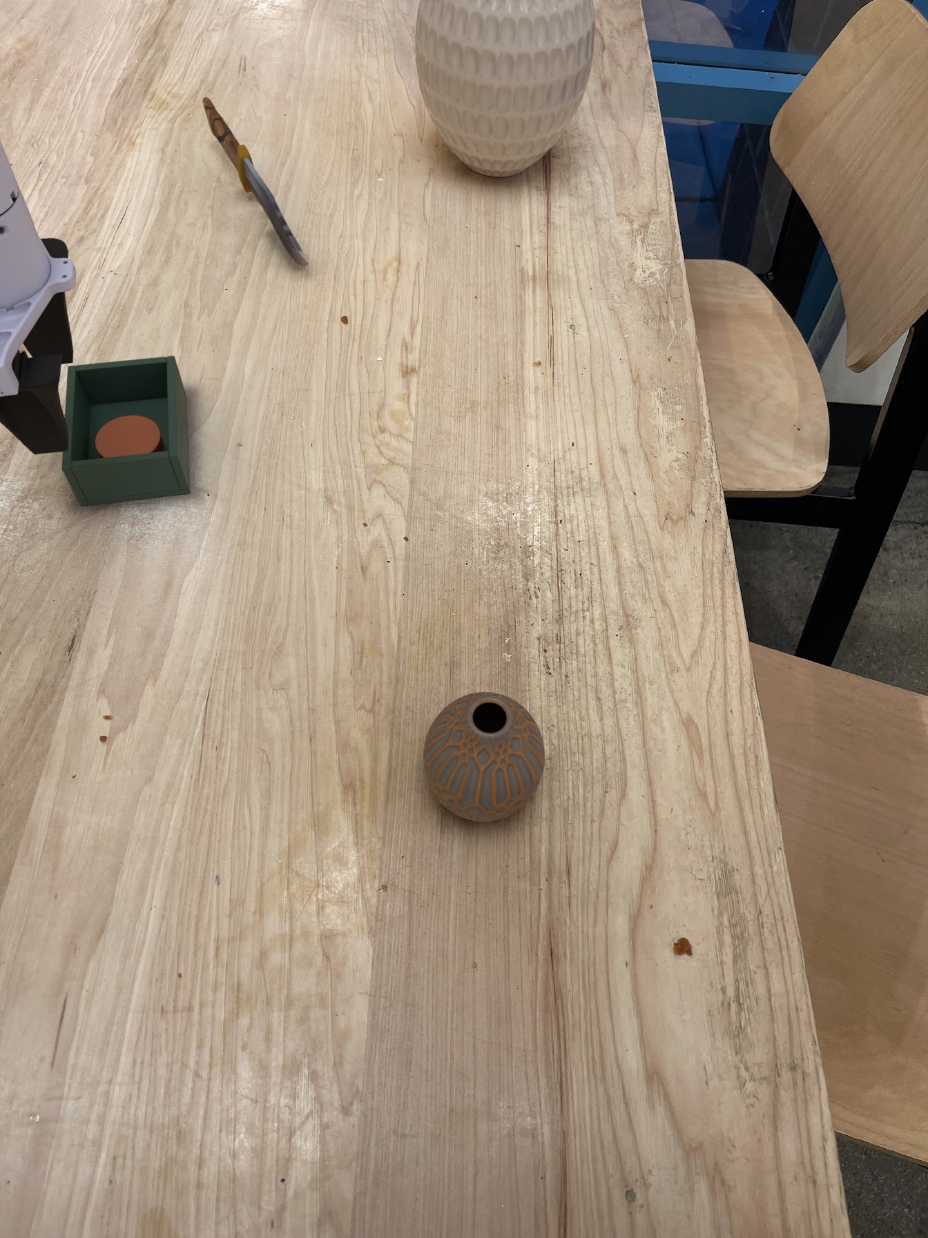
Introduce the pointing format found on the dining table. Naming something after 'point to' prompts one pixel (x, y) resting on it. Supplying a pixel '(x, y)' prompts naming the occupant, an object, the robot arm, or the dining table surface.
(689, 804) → the dining table surface
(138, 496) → the tub
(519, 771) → the vase
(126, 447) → the cylinder
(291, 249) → the knife
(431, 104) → the vase
